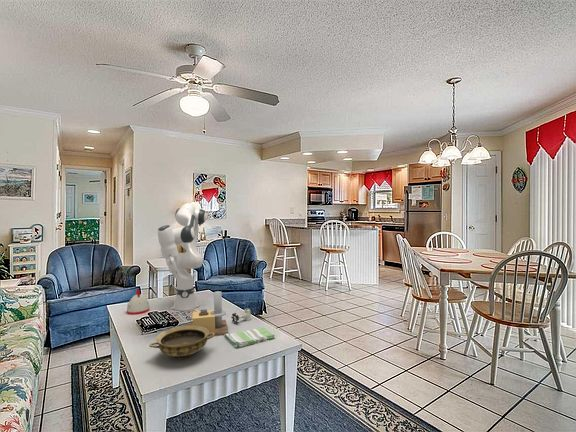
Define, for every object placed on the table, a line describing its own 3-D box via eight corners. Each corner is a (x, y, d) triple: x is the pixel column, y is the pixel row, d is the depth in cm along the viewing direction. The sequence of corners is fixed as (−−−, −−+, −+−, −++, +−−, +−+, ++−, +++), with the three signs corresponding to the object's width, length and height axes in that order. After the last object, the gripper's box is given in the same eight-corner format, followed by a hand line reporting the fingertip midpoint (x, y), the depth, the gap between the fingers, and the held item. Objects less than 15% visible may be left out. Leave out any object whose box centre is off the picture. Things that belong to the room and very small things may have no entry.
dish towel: (223, 338, 170) (223, 331, 170) (261, 329, 182) (261, 323, 182) (235, 350, 155) (235, 343, 155) (275, 339, 167) (275, 333, 167)
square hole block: (193, 325, 184) (192, 291, 183) (225, 321, 189) (224, 289, 188) (192, 332, 172) (192, 297, 172) (226, 329, 177) (226, 294, 177)
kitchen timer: (129, 316, 204) (128, 293, 204) (124, 310, 215) (124, 289, 215) (151, 311, 213) (151, 290, 212) (146, 306, 224) (145, 286, 223)
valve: (246, 317, 200) (231, 322, 192) (246, 307, 200) (231, 312, 191) (253, 320, 195) (237, 325, 187) (253, 309, 195) (237, 314, 187)
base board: (186, 325, 186) (186, 323, 186) (225, 321, 193) (225, 319, 193) (185, 339, 167) (185, 336, 167) (228, 334, 174) (228, 331, 174)
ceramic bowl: (211, 339, 167) (211, 321, 166) (219, 359, 145) (219, 338, 144) (150, 349, 155) (149, 330, 155) (148, 373, 133) (148, 350, 133)
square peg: (200, 326, 181) (200, 309, 181) (207, 326, 182) (206, 309, 182) (200, 329, 177) (200, 311, 177) (207, 328, 178) (207, 311, 178)
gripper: (175, 255, 173) (180, 278, 175) (176, 248, 192) (181, 270, 194) (163, 258, 171) (169, 281, 173) (165, 251, 191) (170, 272, 192)
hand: (175, 275), depth 184 cm, fingers open, 8 cm apart
